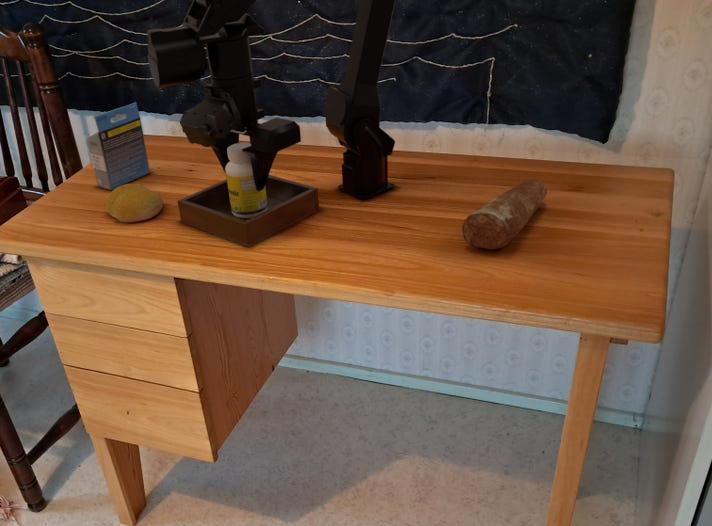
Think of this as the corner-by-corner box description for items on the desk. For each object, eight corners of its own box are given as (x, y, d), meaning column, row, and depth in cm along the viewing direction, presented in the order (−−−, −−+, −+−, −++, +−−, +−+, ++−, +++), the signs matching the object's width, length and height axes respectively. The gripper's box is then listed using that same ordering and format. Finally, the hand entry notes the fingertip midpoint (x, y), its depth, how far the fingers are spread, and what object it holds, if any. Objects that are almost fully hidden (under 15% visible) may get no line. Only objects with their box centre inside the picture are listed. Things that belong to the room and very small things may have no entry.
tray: (251, 190, 118) (248, 169, 116) (319, 210, 110) (317, 188, 108) (181, 222, 110) (177, 200, 108) (248, 247, 101) (245, 223, 99)
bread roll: (128, 229, 110) (122, 203, 107) (100, 213, 115) (94, 188, 113) (175, 211, 114) (170, 186, 111) (145, 196, 120) (140, 172, 117)
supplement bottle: (228, 208, 111) (218, 144, 105) (263, 201, 112) (255, 138, 106) (236, 222, 107) (226, 156, 101) (272, 215, 108) (264, 149, 102)
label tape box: (137, 169, 130) (121, 98, 123) (152, 173, 128) (137, 101, 121) (97, 186, 125) (78, 113, 118) (112, 191, 123) (94, 116, 116)
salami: (458, 251, 96) (459, 210, 92) (517, 198, 108) (521, 161, 104) (504, 261, 92) (507, 220, 89) (560, 205, 104) (565, 167, 101)
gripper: (140, 81, 99) (162, 191, 108) (235, 99, 88) (250, 220, 97) (203, 61, 105) (219, 167, 114) (298, 76, 94) (308, 192, 103)
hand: (246, 185), depth 107 cm, fingers closed on supplement bottle, 5 cm apart
